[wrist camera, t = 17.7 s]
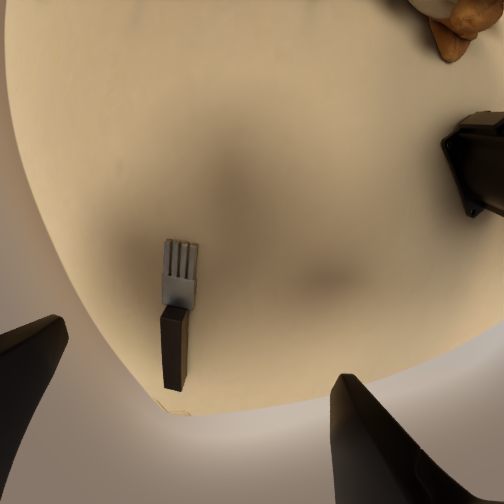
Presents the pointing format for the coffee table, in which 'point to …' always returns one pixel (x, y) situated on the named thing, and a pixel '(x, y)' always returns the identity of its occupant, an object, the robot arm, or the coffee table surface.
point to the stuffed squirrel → (458, 22)
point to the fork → (176, 310)
